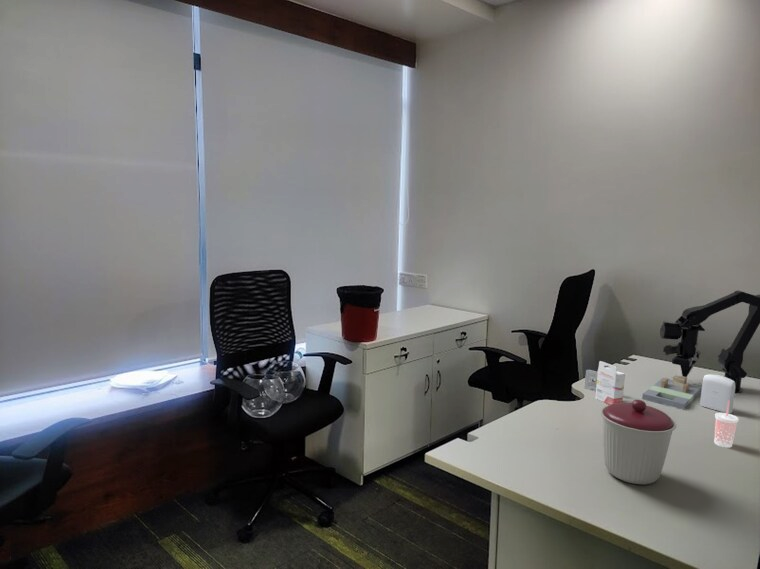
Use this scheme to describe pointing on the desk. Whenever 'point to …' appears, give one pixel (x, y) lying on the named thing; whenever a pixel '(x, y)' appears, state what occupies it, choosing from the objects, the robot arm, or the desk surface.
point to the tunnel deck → (672, 393)
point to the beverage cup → (725, 428)
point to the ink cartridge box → (609, 384)
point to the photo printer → (717, 393)
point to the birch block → (679, 380)
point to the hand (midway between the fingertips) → (684, 377)
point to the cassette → (591, 380)
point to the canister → (635, 441)
